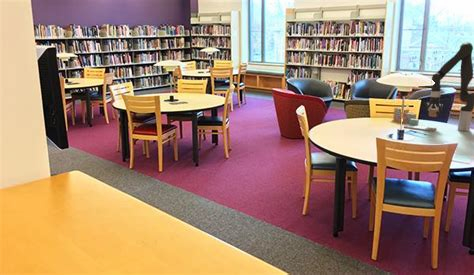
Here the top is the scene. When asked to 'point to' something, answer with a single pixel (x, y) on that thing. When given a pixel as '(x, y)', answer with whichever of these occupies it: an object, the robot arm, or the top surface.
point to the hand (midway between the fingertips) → (433, 115)
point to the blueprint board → (419, 128)
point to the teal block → (414, 122)
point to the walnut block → (432, 112)
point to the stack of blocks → (406, 115)
